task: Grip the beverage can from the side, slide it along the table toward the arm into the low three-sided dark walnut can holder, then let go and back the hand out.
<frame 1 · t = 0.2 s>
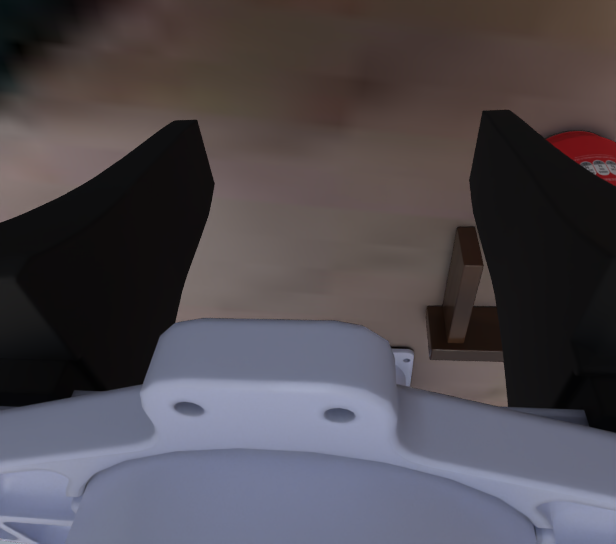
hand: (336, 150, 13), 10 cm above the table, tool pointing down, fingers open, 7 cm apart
can holder: (523, 277, 30), on the table
beverage can: (560, 167, 24), on the table
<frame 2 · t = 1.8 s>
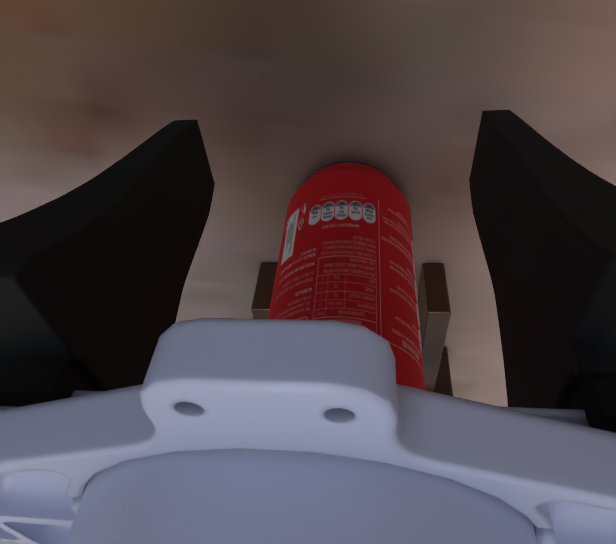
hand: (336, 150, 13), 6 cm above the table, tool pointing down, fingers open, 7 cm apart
can holder: (351, 315, 27), on the table
beverage can: (348, 201, 21), on the table
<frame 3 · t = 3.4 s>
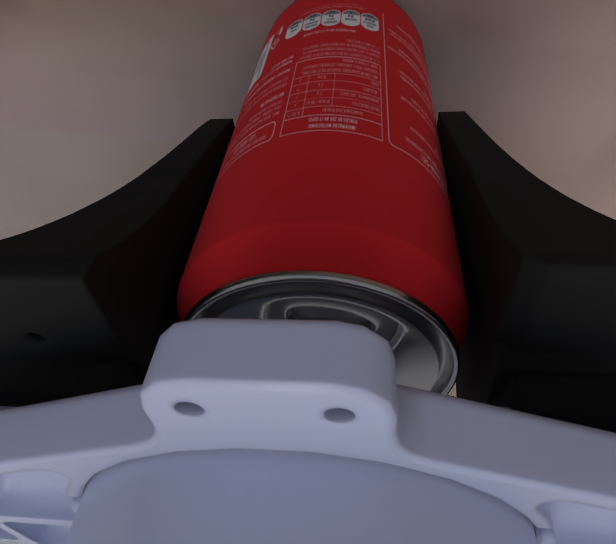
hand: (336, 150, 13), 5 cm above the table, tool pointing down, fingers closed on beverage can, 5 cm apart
beverage can: (343, 57, 16), on the table, touching gripper
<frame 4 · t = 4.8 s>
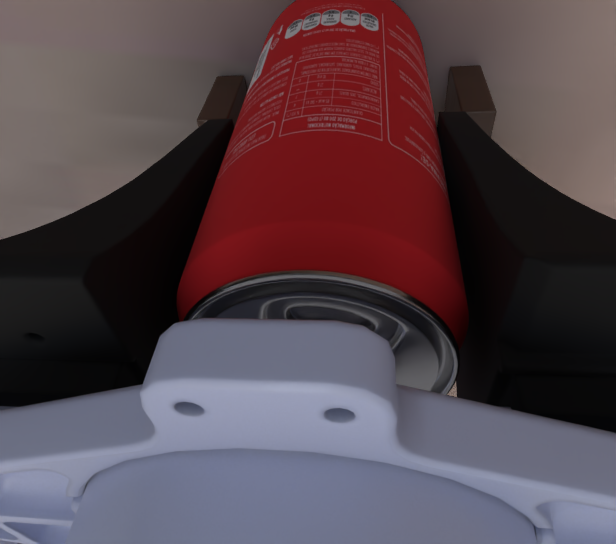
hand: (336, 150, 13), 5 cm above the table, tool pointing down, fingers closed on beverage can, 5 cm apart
can holder: (347, 172, 20), on the table
beverage can: (343, 57, 16), on the table, touching gripper
when the fingers open (5 cm above the table, at t = 6.4 s): beverage can stays where it is, on the table.
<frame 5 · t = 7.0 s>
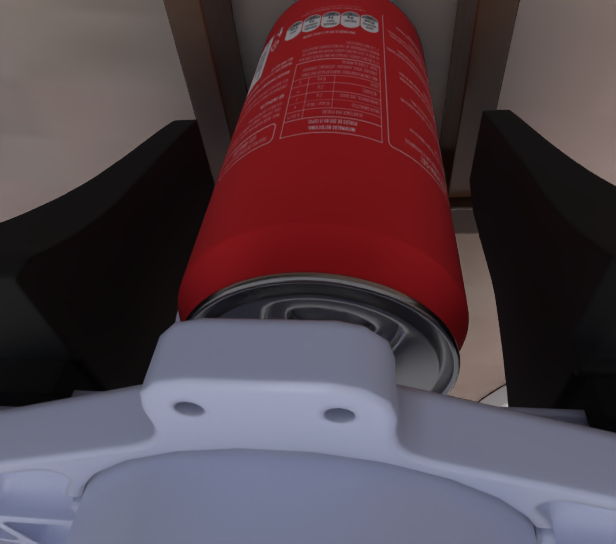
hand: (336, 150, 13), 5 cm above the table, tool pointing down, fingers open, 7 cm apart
can holder: (344, 81, 17), on the table
beverage can: (343, 58, 16), on the table
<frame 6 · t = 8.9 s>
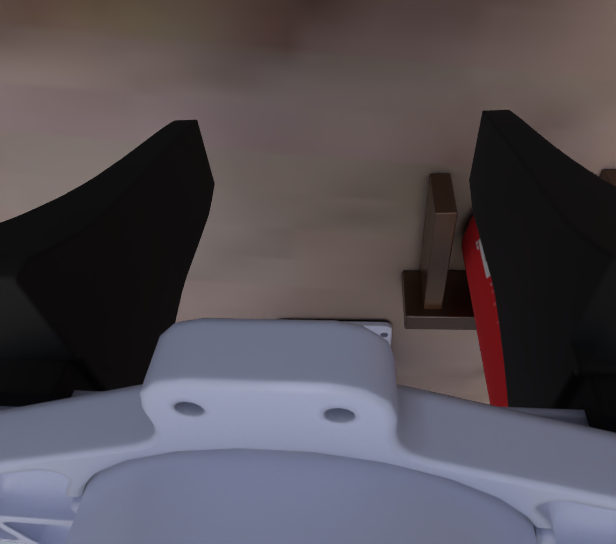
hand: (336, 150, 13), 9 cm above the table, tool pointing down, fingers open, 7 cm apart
can holder: (507, 235, 27), on the table
beverage can: (508, 223, 26), on the table
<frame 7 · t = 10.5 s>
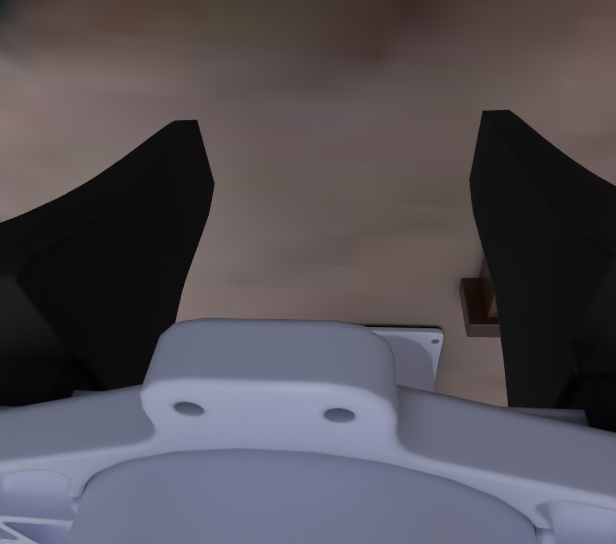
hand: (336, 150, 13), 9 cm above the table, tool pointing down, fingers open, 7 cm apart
can holder: (572, 244, 27), on the table
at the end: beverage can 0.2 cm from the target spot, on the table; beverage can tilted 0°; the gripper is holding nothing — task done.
